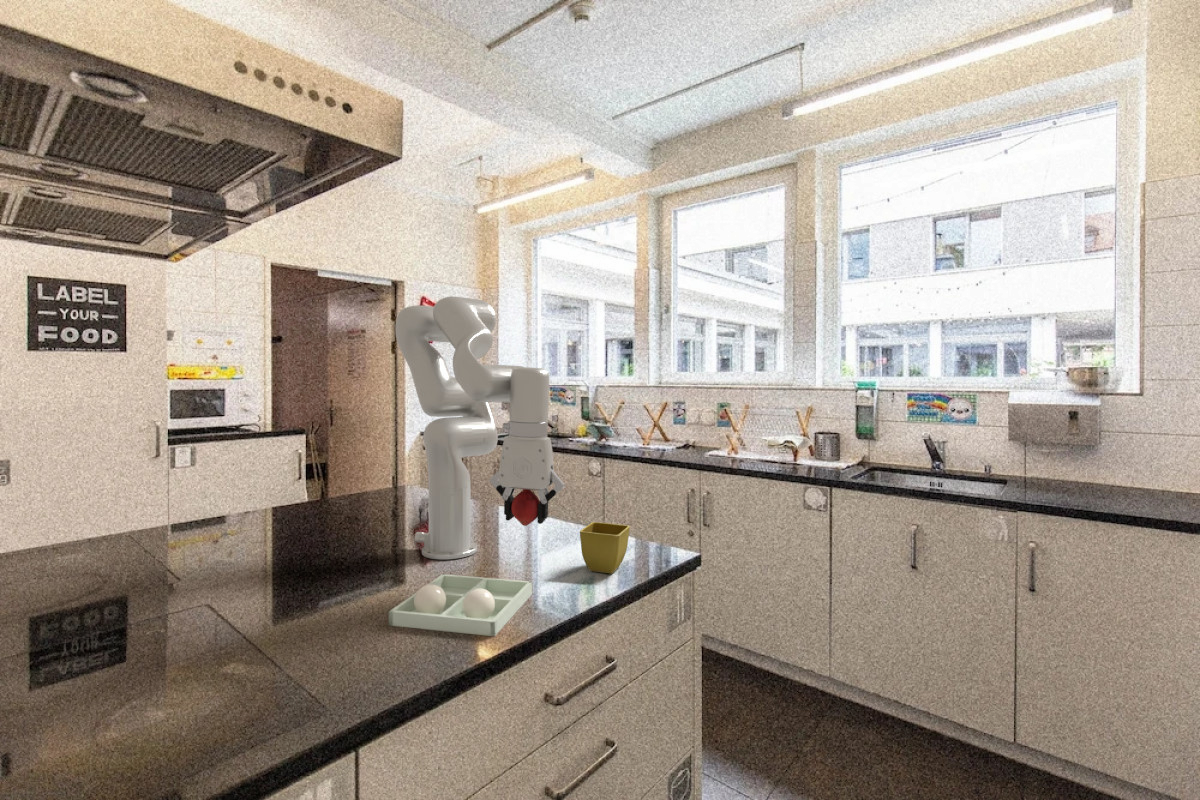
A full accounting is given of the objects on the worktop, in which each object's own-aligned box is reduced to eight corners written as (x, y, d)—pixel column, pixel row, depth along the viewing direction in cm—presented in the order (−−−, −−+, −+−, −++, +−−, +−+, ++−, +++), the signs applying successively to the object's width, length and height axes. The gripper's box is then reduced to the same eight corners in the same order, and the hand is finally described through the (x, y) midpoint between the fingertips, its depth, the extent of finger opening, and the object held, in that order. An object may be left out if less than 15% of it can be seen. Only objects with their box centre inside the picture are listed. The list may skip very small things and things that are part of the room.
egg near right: (456, 625, 91) (456, 593, 91) (470, 613, 96) (470, 582, 96) (487, 628, 90) (487, 596, 90) (499, 615, 95) (499, 585, 95)
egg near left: (407, 620, 93) (407, 589, 93) (423, 608, 98) (423, 578, 98) (436, 623, 92) (436, 592, 92) (451, 611, 97) (451, 581, 97)
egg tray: (388, 631, 91) (388, 611, 91) (442, 590, 109) (442, 574, 109) (494, 642, 87) (494, 621, 87) (532, 598, 105) (532, 581, 105)
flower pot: (630, 565, 124) (630, 524, 124) (618, 578, 116) (618, 535, 116) (592, 561, 127) (592, 521, 127) (578, 573, 119) (578, 531, 119)
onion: (542, 522, 116) (544, 483, 115) (536, 530, 110) (538, 490, 109) (514, 520, 116) (515, 482, 116) (507, 528, 110) (508, 488, 110)
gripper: (479, 429, 110) (477, 521, 111) (565, 435, 106) (562, 529, 108) (494, 425, 117) (492, 511, 118) (575, 431, 114) (572, 519, 115)
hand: (525, 519), depth 113 cm, fingers closed on onion, 5 cm apart
